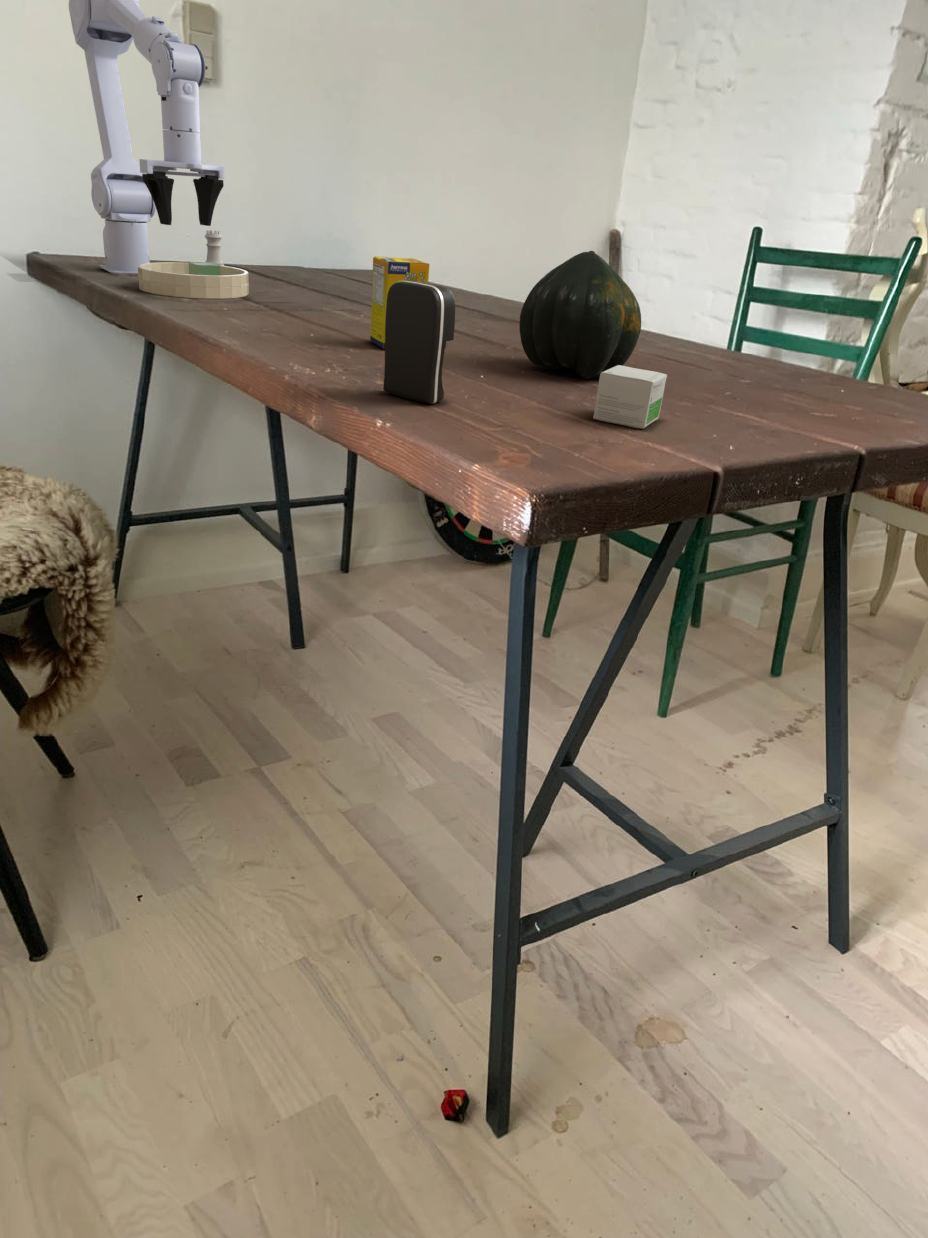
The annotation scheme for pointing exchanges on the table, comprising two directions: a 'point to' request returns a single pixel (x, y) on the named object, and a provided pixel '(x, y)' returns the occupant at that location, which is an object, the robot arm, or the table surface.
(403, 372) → the battery charger
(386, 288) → the supplement box
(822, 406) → the table surface
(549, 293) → the squash
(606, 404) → the small box
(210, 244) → the rook chess piece
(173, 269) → the bowl
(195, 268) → the block
